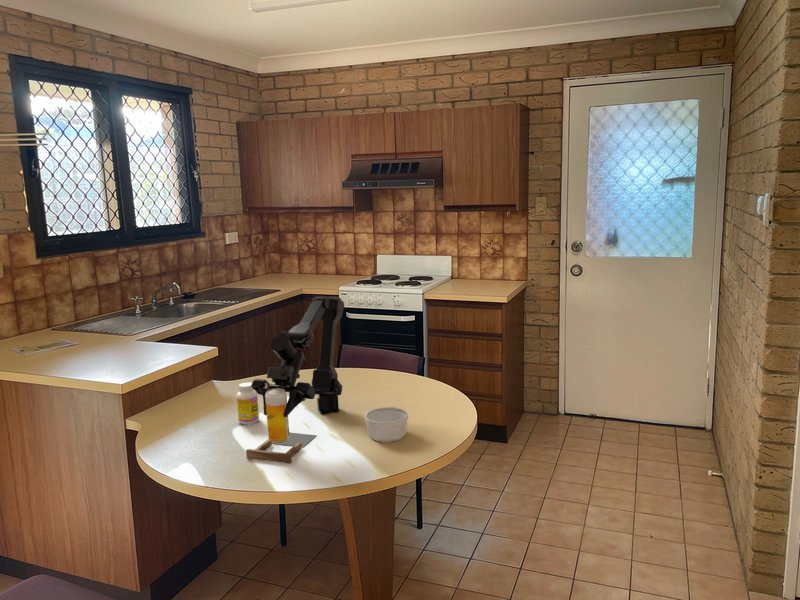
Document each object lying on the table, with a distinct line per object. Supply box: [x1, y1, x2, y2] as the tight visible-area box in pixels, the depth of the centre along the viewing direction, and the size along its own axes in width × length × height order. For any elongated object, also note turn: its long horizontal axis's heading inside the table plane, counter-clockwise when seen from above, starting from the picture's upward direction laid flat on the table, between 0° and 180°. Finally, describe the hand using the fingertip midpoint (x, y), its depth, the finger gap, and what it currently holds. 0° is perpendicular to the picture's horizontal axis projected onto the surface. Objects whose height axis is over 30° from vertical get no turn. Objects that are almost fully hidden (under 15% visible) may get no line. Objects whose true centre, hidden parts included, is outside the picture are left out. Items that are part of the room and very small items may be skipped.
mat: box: [272, 431, 317, 448], centre depth 194 cm, size 9×11×1 cm
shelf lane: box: [245, 438, 303, 465], centre depth 184 cm, size 10×14×2 cm
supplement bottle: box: [236, 382, 260, 425], centre depth 210 cm, size 7×7×13 cm
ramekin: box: [364, 406, 409, 443], centre depth 195 cm, size 13×13×7 cm
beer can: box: [265, 388, 290, 445], centre depth 184 cm, size 6×6×15 cm
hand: (274, 415), depth 183 cm, fingers closed on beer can, 6 cm apart
